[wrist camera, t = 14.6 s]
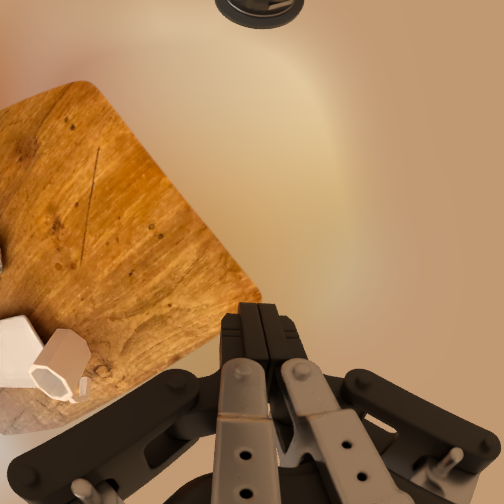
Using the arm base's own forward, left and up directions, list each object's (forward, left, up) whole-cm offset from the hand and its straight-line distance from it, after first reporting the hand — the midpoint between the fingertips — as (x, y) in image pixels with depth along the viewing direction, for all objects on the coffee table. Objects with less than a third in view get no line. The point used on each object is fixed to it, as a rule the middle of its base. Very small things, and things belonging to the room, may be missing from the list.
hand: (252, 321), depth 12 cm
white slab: (+32, -45, -25) cm, 61 cm away
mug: (+28, -26, -25) cm, 46 cm away
